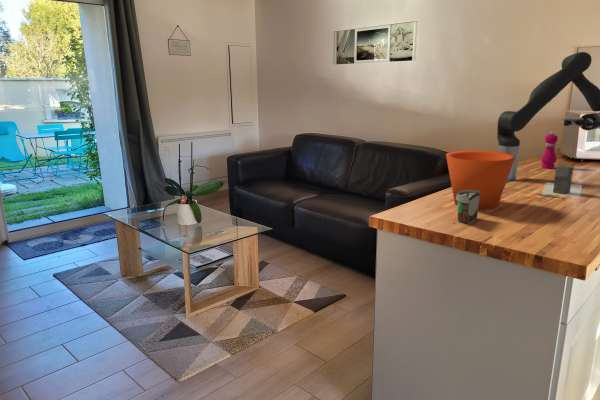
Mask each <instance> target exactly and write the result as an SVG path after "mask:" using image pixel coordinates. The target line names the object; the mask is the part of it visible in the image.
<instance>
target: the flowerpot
mask: <svg viewBox="0 0 600 400" xmlns="http://www.w3.org/2000/svg"><path fill="white" fill-rule="evenodd" d="M445 158H446V161H447V168H448V173H449V178H450V183H451V184H450V185H451V190H452V195H453V201H454V204H455V205H456V206H457V205H458V201H457V200H456V196H457V194H458V192H460V191H465V190H477V191H480V197H479V206H478V209H488V210H494V209H496V208H497V207H499V204H500V200H501V198H502V195H503V193H504V190H505V187H506V185H507V183H508V182H507V179H508V176H509V173H510V170H511V168H512V165H513V162H514V159H515V156H514V155H512V154H508V153H503V152H498V151H494V150H472V149H471V150H457V151H456V150H454V151H451V152H446V154H445ZM493 208H494V209H493Z"/></svg>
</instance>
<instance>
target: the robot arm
mask: <svg viewBox="0 0 600 400" xmlns="http://www.w3.org/2000/svg"><path fill="white" fill-rule="evenodd" d="M591 64H592V56H591V54H590V53H588V52H586V51H580V52H576V53H573V54H570V55H568V56H566V57H565V58H563V60H562V61H561V69H560V70H558V71H556V72H555V73H553V74H552V75H550V76H548V77H547V78H545V79H544V80H542V81H541V82H540V83H539V84H538V85H537V86H535V88H533V89H532V91H531V93H530V95H529V98H528V101H527V103H526V104H524V105H523V106H522V107H521V108H520V109H519V110H516V111H512V110H506V111H503V112H502V113H500V115H499V117H498V120H497V131H496V132H497V133H496V134H497V135H496V139H497V141H498V145H497V146H498V147H497V152H503V153H508V154H512V155H514V156H515V159H514V162H513V165H512V168H511V170H510V173H509V176H508V179H507V182H506V183H511V182H514V181H515V182H516V181H517V177H518V176H517V174H518V166H519V165H518V163H519V153H520V146H521V145H520V144H521V140H520V139H519V138H518V137H517V136H516V134H515V132H519V131H521V130H523V129H524V128H525V127H526V126H527V125H528V124H529V123H530V121H531V120H532V119H534V117H535V116H536V115H537V114H538V113H539V112H540V111H541V110H542V109H543V108H544V107H545V106H546V105H547V104H549V103H550V102H551V101H552V100H554V98H556V96H558V95H559V93H561V92H562V91H563V90H564V89H565V88H566V87H567V86H568V85H569V84H570V83H571V82H572V83H573V85H575V87H576V89H578V91H579V92H580V93H581V95H582V96H583V97H584V99H585V100H586V102H587V104H588V106H589V107H590V109H591V111H592V112H593V113H586V114H584V115H582V116H581V117H579V118H568V119H566V118H565V119H564V120H563V126H564V127H570V126H572V127H573V128H574V127H580V128H581V129H582V130H583V131H594V130H597V129H599V130H600V88H599V87H598V86H597V85H595V84H594V83H592V81H590V80H589V79H588V78H587V77H586V75H584V72H586V71H587V70H588V69H589V68H590V67H591Z"/></svg>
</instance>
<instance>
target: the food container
mask: <svg viewBox="0 0 600 400" xmlns="http://www.w3.org/2000/svg"><path fill="white" fill-rule="evenodd" d="M479 197H480V191H477V190H465V191H460V192H458V194H457V196H456V200H457V201H458V206H457V222H459V223H461V224H462V223H463V225H466V224H467V226H469V225H470V224H472V223H473V222H474V221H476V220H477V219H478V214H479V213H478V212H479V210H478V206H479ZM476 218H477V219H476ZM473 220H474V221H473ZM472 221H473V222H472ZM468 224H469V225H468Z"/></svg>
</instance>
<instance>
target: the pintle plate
mask: <svg viewBox="0 0 600 400" xmlns="http://www.w3.org/2000/svg"><path fill="white" fill-rule="evenodd" d="M582 187H583V185H582V184H572V183H571V187H570V193H568V194H565V195H564V194H558V193H553V189H554V182H547V181H546V182H545V185H544V187H543V189H542V191H541V194H540V197H544V198H555V199H561V197H558V196H562V197H563V199H564V200H565V199H567V198H566V197H572V198H581V195H582ZM564 197H565V198H564Z"/></svg>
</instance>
